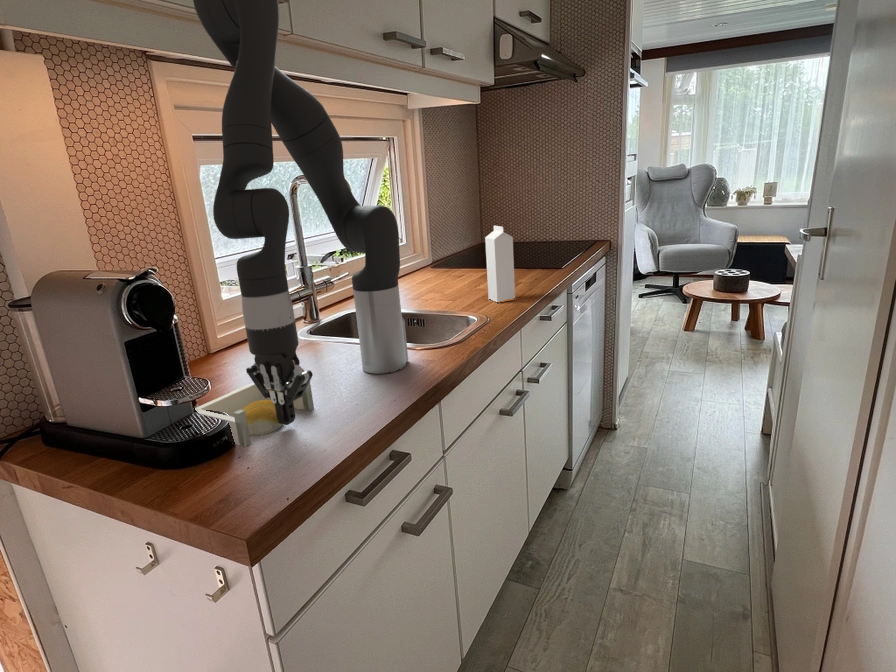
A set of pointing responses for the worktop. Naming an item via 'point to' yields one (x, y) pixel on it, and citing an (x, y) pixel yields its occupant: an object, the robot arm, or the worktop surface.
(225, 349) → the worktop surface
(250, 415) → the bread roll
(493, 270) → the milk
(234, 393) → the holder
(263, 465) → the worktop surface
